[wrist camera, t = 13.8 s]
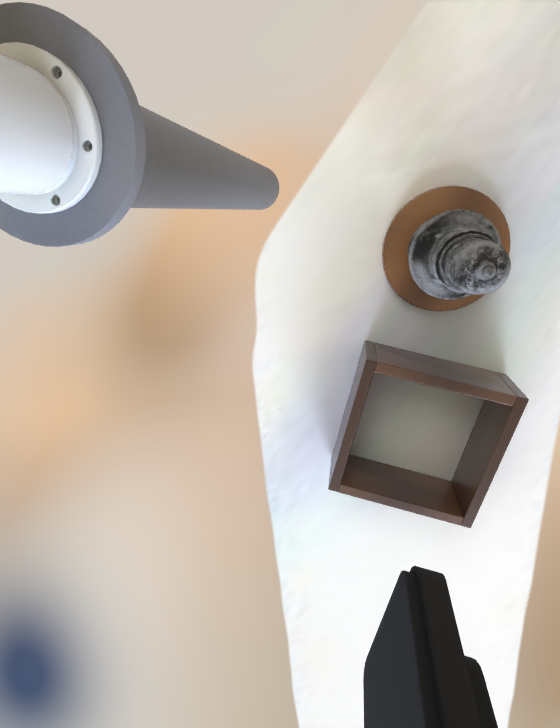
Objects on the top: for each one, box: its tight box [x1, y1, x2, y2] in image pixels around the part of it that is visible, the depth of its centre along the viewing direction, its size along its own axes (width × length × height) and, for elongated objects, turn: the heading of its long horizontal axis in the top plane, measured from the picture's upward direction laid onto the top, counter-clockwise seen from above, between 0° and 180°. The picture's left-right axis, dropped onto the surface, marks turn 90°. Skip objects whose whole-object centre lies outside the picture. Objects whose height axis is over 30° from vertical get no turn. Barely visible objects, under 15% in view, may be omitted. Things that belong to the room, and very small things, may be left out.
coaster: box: [382, 186, 510, 311], centre depth 32 cm, size 9×9×1 cm
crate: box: [328, 341, 529, 528], centre depth 35 cm, size 12×12×5 cm
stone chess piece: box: [407, 209, 510, 300], centre depth 27 cm, size 6×6×12 cm
